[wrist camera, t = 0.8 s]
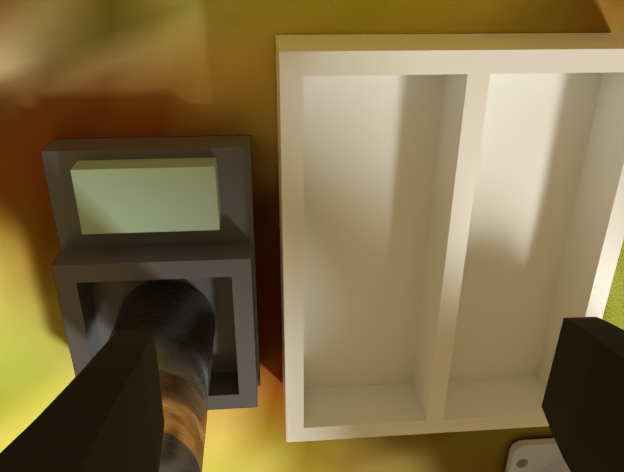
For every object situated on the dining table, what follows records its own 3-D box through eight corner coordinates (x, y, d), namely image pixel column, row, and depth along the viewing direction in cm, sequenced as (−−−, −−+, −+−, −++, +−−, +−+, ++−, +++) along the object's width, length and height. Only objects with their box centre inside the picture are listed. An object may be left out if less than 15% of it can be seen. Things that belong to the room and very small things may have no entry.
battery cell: (219, 357, 21) (203, 554, 14) (124, 361, 21) (62, 564, 14) (213, 277, 19) (191, 453, 13) (111, 281, 19) (34, 464, 12)
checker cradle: (260, 364, 23) (260, 409, 20) (98, 372, 22) (81, 419, 20) (250, 135, 19) (249, 160, 16) (53, 139, 18) (25, 165, 16)
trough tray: (538, 370, 24) (574, 424, 21) (282, 384, 23) (286, 442, 20) (612, 32, 18) (674, 48, 15) (275, 34, 17) (279, 51, 15)
